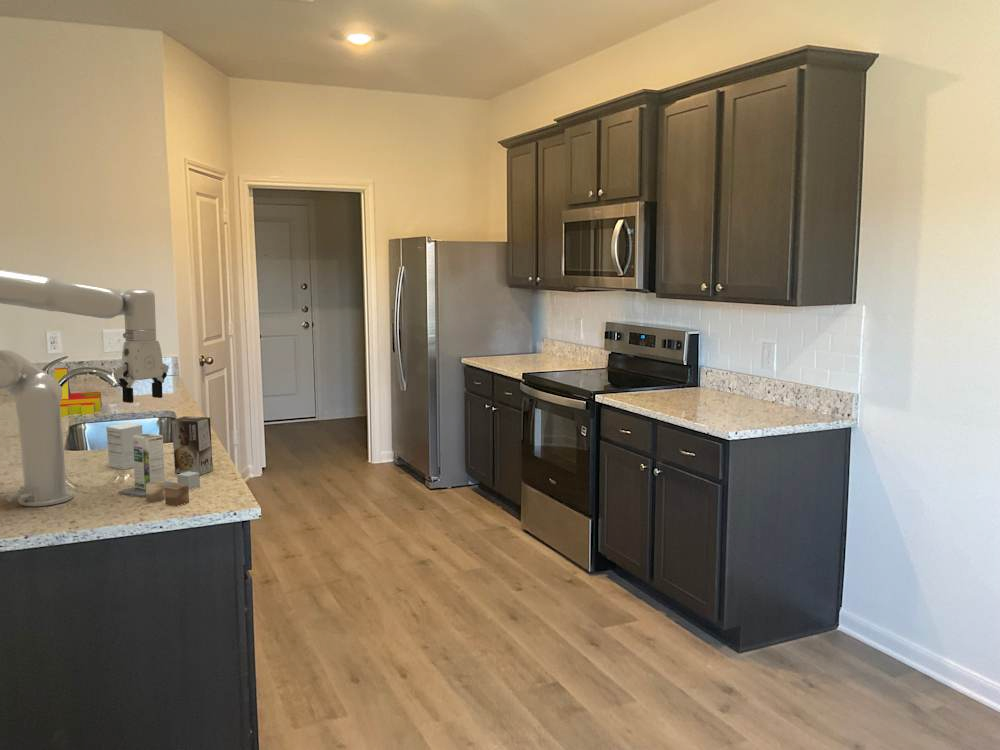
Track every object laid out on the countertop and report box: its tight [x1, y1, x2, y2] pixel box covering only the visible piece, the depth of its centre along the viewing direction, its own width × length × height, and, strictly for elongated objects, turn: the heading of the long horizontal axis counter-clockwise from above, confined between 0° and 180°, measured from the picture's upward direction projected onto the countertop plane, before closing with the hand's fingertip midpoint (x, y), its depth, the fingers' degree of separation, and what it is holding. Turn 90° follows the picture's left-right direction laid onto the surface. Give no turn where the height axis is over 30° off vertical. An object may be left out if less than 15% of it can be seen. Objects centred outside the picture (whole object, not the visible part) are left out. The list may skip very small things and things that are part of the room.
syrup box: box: [133, 432, 166, 490], centre depth 221 cm, size 6×6×14 cm
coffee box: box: [171, 416, 214, 476], centre depth 239 cm, size 9×6×16 cm
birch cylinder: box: [145, 481, 165, 503], centre depth 212 cm, size 4×4×4 cm
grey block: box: [176, 471, 201, 490], centre depth 223 cm, size 4×4×4 cm
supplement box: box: [105, 422, 143, 470], centre depth 247 cm, size 7×7×13 cm
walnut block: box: [164, 484, 190, 507], centre depth 208 cm, size 4×4×4 cm
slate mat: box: [118, 480, 178, 498], centre depth 221 cm, size 13×9×1 cm
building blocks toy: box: [53, 367, 103, 417], centre depth 337 cm, size 19×25×18 cm
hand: (143, 399), depth 218 cm, fingers open, 9 cm apart
